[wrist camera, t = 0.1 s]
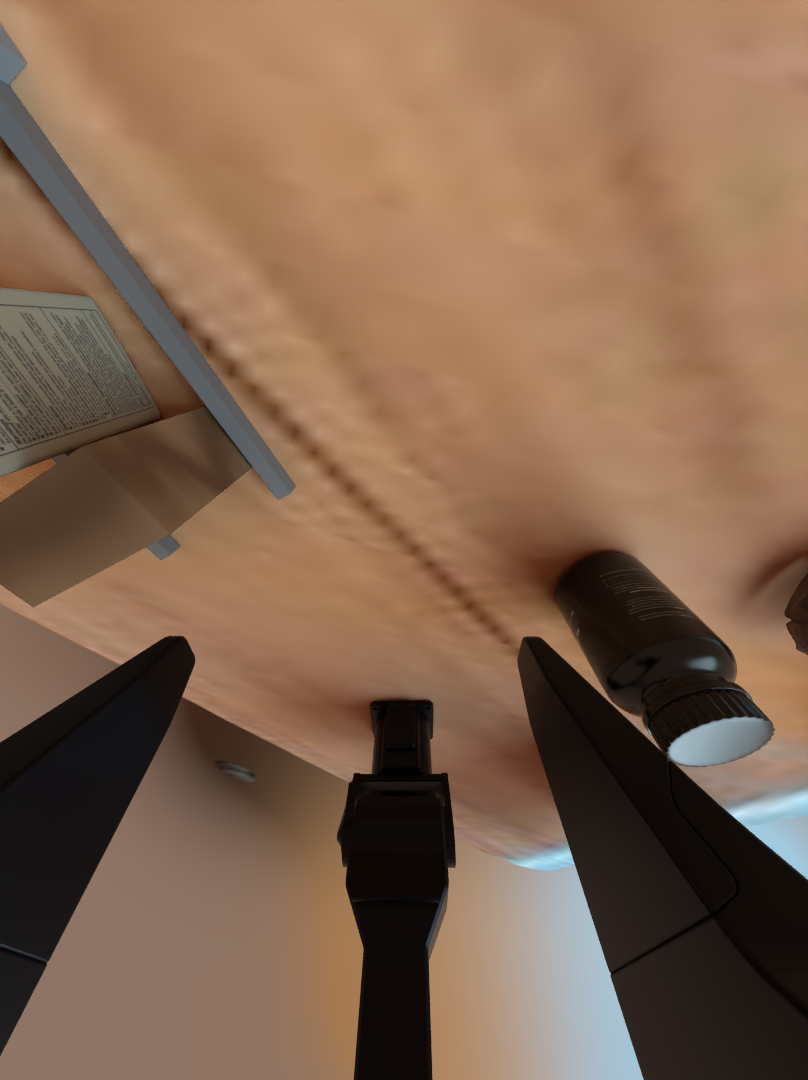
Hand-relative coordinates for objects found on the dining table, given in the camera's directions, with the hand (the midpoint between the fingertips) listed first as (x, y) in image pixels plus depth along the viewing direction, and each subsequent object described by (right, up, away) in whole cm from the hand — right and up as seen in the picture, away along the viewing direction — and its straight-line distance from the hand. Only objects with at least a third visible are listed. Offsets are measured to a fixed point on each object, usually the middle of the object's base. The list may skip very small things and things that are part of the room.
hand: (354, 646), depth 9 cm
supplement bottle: (+17, -1, +17) cm, 24 cm away
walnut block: (-13, +8, +13) cm, 20 cm away
